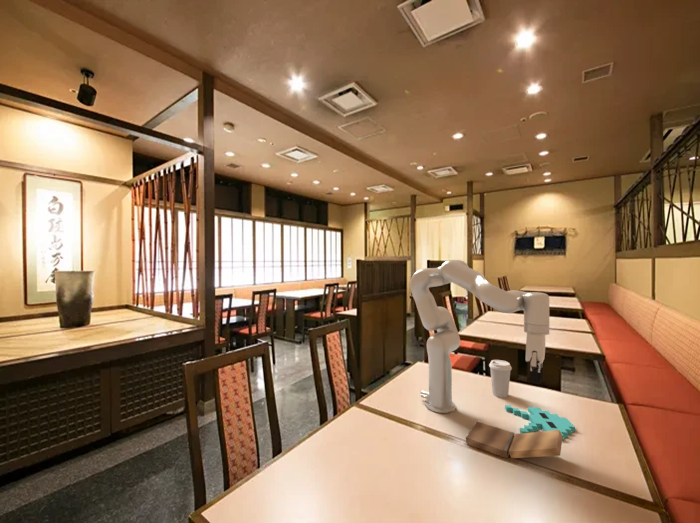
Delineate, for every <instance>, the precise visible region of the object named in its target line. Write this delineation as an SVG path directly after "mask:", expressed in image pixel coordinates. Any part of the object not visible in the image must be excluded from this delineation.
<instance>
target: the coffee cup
mask: <svg viewBox="0 0 700 523" xmlns="http://www.w3.org/2000/svg"><path fill="white" fill-rule="evenodd" d="M488 366H489V368H490V369H489V370H490V378H491V389H492V390H491V391H492V392H491V393H492V395H493V396H495V397H498V398H501V399H504V398H505V399H506V398H508V397H509V391H510V380H511V379H510V378H511V371H512V369H513V367H512V366H511V364H510V362H508V361H506V360H501V359H492V360H491V361H490V363H489V364H488Z"/></svg>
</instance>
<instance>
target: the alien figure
mask: <svg viewBox="0 0 700 523" xmlns="http://www.w3.org/2000/svg"><path fill="white" fill-rule="evenodd" d="M504 409H505V411H506V412H509V413H512V414H513V415H514V416H520V417H521V418H522V419H526V420H527V419H528V420H529V421H530V422H528V425H526V424H525V425H524V427H520V428H519V434H521V433H531V432H539V431H538V429H539V430H540V429H542V430H541V431H552V430H560V432H561V434H562V436H563V437H562V442H563V441H564V440H565V438H568V437H569V435H572V432H573V433H576V426H575V425H574V424H573V423H572V422H571V421H570V420H569V419H568V418H567V417H563V416H559V414H557V413H551V412H550V411H549V410H542V408H541V407H533V406H528V407H527V411H528V412H527V411H524V410H520V408H516V407H513V406H512V405H510V404H505V405H504ZM568 439H569V438H568Z"/></svg>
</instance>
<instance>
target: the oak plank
mask: <svg viewBox="0 0 700 523" xmlns="http://www.w3.org/2000/svg"><path fill="white" fill-rule="evenodd" d="M562 437H563V436H562V434H561V432H560V430H552V431H543V430H541V431H533V432H531V433H521V434H520V433H515V436H514V439H513V441H512V444H511V446H510V449H509V451H508V452H509V456H510V458H511V459H519V458H520V459H522V458H536V457H537V458H539V457H557V456H558V457H559V456H561V451H562V444H563V440H562Z"/></svg>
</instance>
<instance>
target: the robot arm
mask: <svg viewBox="0 0 700 523" xmlns="http://www.w3.org/2000/svg"><path fill="white" fill-rule="evenodd" d="M451 283H453V284H455V285H457V286H458V287H461V288H462V289H464V290H466V291H468V292H469V293H471V294H472V295H473V296H474V297H476V298H477V300H479V301H480V302H482V303H483V304H486V305H487V306H489V307H491V308H492V309H494V310H496V311H499V312H501V313H503V314H513V313H515V312H518V311H523V332H524V333H526V341H525V342H526V343H525V362H526V363H528V362H530V367H529V368H530V370H529V382H530V383H531V384H536V385H541V384H542V380H543V379H544V367H543V362H544V360H545V356H546V355H545V354H546V336H547V335H550V297H549V294H547V293H544V292H538V291H535V292H534V291H532V292H531V291H530V292H528V291H523V290H516V289H512V290H504V289H502V288H501V287H498V286H495V285H494V284H492V283H490V282H489V281H488V280H487V279H486V277H485V274H483V273H482V272H479V271H477V270H475V269H473V268H471V267H469V265H468V264H467V262H465V261H464V260H459V259H449V260H445V261H444V262H443V263H442V264H441V266H438V267H430V268H429V267H427V268H421V269H418V270H416V271H415V272H414V273H413V274H412V275H411V278H410V281H409V289H410V293H411V295H412V298H413V300H414V302H415V305H416V306H415V307H416V308H417V311H418V312H417V313H418V315H419V318H420V321H421V324H422V327H424V329H426V331H437V332H436V333H434V334H431V335H430V336H429V337H428V339H427V341H426V352H427V357H428V391H424V390H421V391H420V397H421V398H423V399H425V402H424V405H425V407H426V408H427V409H428V410H430V411H432V412H434V413H438V414H450V413H453V412H454V411H455V410H456V409H457V408H456V407H457V406H456V404H455V403H456V402H454V401H453V400H452V398H453V397H452V395H453V392H452V388H453V387H452V385H453V384H452V383H453V382H452V380H453V379H452V376H453V374H452V373H453V372H452V371H453V370H452V368H453V367H452V360H451V357H450V354H451V353H452V352H454V351H456V350H458V348H459V347H460V345H461V338H460V334H459V331H458V329H457V326H456V323H455V321H454V318H453V315H452V313H451V312H450V310H448V308H446V307H444V306H438V305H437V303H436V300H435V297H434V295H433V293H432V292H431V291H430V288H433V287H435V288H436V287H440V286H444V285H448V284H451Z"/></svg>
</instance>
